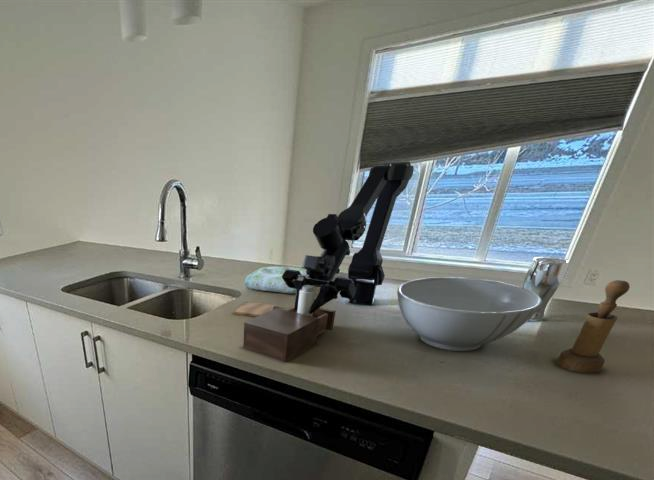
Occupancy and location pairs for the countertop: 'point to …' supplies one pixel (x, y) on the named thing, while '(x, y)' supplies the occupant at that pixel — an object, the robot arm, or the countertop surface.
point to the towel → (271, 279)
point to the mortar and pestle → (594, 334)
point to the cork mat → (254, 309)
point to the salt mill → (306, 299)
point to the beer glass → (544, 280)
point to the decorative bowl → (464, 310)
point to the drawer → (322, 318)
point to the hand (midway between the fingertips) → (302, 311)
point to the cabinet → (280, 333)
